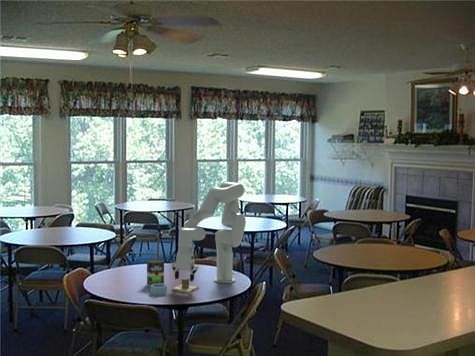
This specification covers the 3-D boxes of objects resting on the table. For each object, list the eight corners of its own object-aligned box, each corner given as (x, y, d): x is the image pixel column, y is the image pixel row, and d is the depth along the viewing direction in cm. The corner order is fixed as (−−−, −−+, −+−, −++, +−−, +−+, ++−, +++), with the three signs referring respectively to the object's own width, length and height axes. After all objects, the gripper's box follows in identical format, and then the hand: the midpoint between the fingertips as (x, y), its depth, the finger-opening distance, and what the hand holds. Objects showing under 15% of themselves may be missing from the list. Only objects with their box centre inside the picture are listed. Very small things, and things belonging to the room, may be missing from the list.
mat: (181, 286, 330) (181, 285, 330) (199, 288, 325) (199, 288, 325) (170, 291, 319) (170, 290, 319) (189, 294, 314) (189, 293, 314)
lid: (181, 286, 329) (181, 275, 329) (198, 288, 325) (198, 277, 324) (172, 290, 320) (172, 279, 319) (189, 293, 315) (189, 282, 314)
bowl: (156, 290, 322) (156, 282, 321) (170, 292, 318) (170, 284, 317) (147, 294, 313) (147, 286, 313) (161, 296, 310) (161, 288, 309)
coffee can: (165, 286, 331) (165, 262, 330) (147, 287, 328) (147, 263, 327) (163, 281, 340) (163, 258, 339) (145, 282, 338) (145, 259, 337)
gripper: (201, 250, 320) (200, 280, 321) (175, 247, 327) (174, 276, 328) (195, 252, 313) (194, 283, 314) (168, 249, 320) (167, 279, 321)
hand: (184, 279), depth 321 cm, fingers open, 9 cm apart
